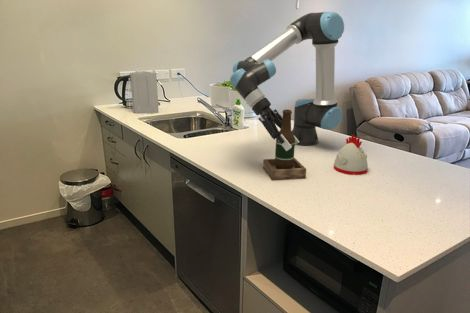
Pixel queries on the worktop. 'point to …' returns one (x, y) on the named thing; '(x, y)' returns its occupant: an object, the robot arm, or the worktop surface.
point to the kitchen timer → (351, 158)
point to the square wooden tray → (284, 170)
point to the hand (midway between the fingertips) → (293, 146)
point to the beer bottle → (281, 155)
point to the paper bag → (144, 92)
